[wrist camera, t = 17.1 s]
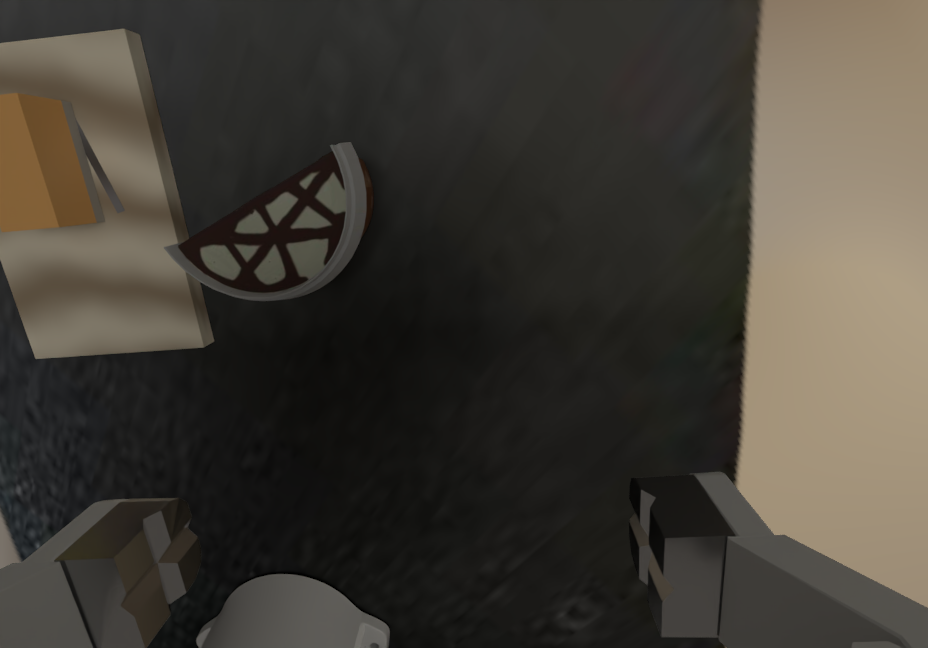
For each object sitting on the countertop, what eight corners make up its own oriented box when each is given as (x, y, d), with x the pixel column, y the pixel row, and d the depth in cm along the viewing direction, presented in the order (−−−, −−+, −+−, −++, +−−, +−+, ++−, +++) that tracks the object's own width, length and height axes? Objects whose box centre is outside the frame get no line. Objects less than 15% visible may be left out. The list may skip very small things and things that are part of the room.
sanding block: (105, 221, 36) (59, 227, 32) (53, 226, 36) (1, 232, 32) (70, 102, 34) (16, 92, 30) (16, 108, 34) (-45, 99, 30)
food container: (287, 302, 39) (220, 344, 29) (241, 232, 37) (155, 252, 28) (423, 227, 36) (400, 245, 27) (380, 149, 35) (339, 139, 25)
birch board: (214, 341, 40) (203, 347, 38) (51, 352, 41) (35, 359, 39) (139, 35, 33) (123, 28, 32) (-51, 57, 34) (-75, 51, 33)
